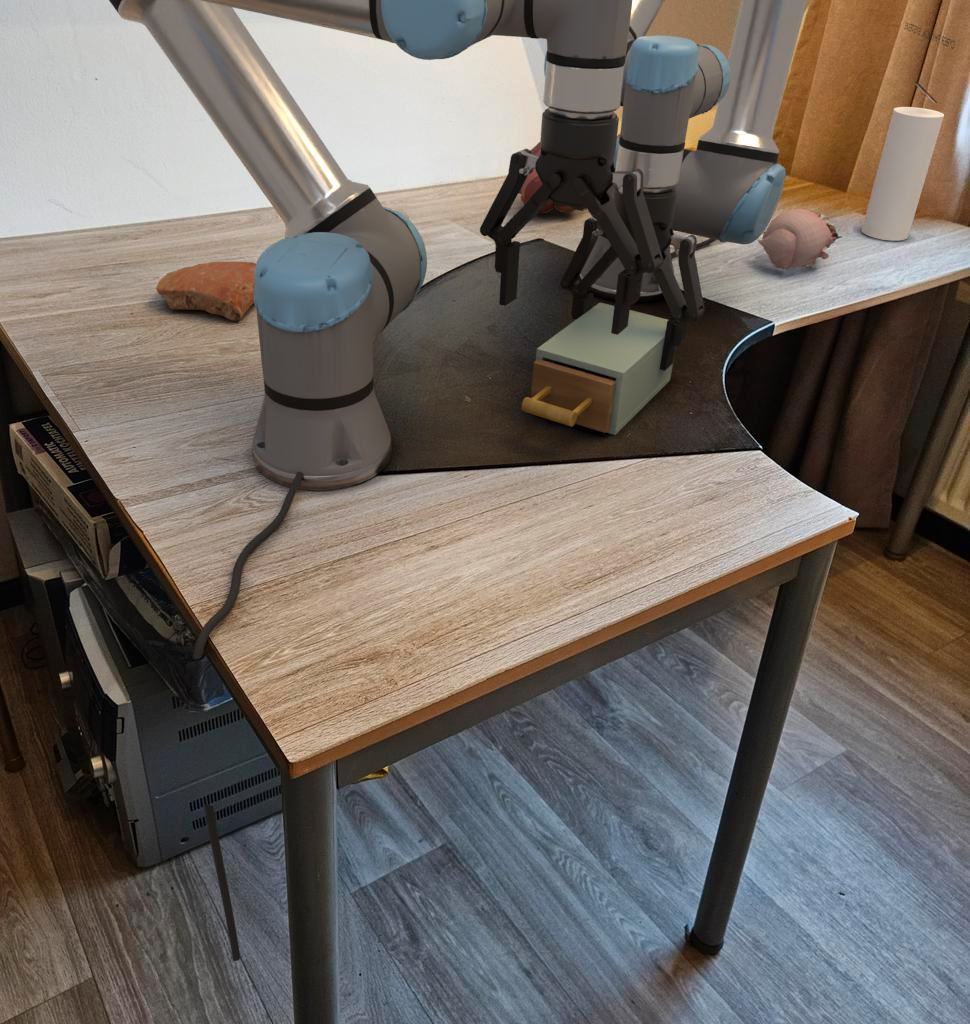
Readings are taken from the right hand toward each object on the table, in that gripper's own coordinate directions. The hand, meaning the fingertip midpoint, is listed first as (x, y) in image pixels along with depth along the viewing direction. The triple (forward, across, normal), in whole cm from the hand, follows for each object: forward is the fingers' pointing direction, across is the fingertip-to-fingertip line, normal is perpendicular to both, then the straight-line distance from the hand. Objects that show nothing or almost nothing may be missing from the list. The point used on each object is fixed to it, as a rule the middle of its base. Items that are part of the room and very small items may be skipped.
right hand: (622, 354), depth 125 cm
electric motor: (+4, +56, -27) cm, 62 cm away
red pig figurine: (+4, +40, -67) cm, 78 cm away
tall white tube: (+4, -16, -88) cm, 90 cm away
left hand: (-11, +1, +19) cm, 22 cm away
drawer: (+3, 0, +11) cm, 11 cm away
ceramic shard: (+4, +61, +11) cm, 62 cm away
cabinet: (+4, 0, +5) cm, 6 cm away
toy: (+4, -6, -59) cm, 59 cm away
